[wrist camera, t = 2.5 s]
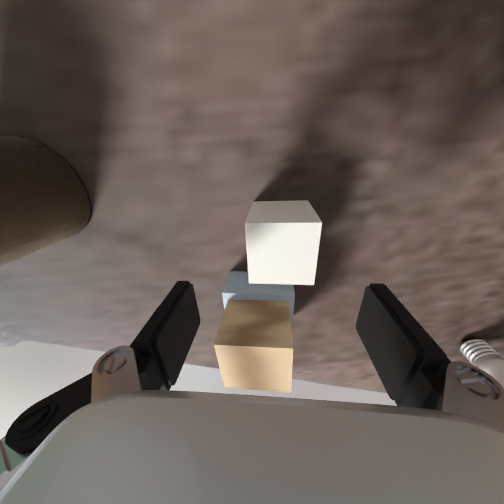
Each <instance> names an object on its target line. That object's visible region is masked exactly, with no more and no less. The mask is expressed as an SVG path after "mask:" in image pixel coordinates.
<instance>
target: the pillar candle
mask: <svg viewBox="0 0 504 504" xmlns="http://www.w3.org/2000/svg"><path fill="white" fill-rule="evenodd" d="M90 211H91V210H90V202H89V198H88V194H87V193H86V190H85V188H84V186H83V184H82V182H81V180H80V179H79V178H78V176H77V175H76V173H75V172H74V171H73V169H72V168H71V166H70V165H69V164H68V163H67V162H66V161H65V159H63V158H62V157H61V156H60V155H58V154H57V153H56V152H54V151H53V150H51V149H50V148H48V147H47V146H45V145H44V144H42V143H40V142H37V141H35V140H33V139H30V138H26V137H18V136H0V266H1V265H4V264H6V263H8V262H11V261H13V260H16V259H19V258H21V257H23V256H25V255H28V254H30V253H33V252H35V251H37V250H40V249H42V248H45V247H47V246H49V245H52V244H54V243H57V242H59V241H61V240H63V239H65V238H69V237H71V236H73V235H75V234H78V233H79V232H80V231H81V230H82V229H83V228H84V227H85V225H86V224H87V222H88V220H89V217H90Z"/></svg>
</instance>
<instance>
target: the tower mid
mask: <svg viewBox="0 0 504 504" xmlns="http://www.w3.org/2000/svg"><path fill="white" fill-rule="evenodd" d="M214 347H215V351H216V355H217V359H218V363H219V367H220V371H221V375H222V379H223V383H224V387H226V388H239V389H251V390H265V391H278V392H291V384H292V361H293V342H292V331H291V319H290V308H289V301H256V300H228V301H227V304H226V307H225V311H224V314H223V317H222V320H221V324H220V327H219V330H218V333H217V337H216V340H215V343H214Z"/></svg>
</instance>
